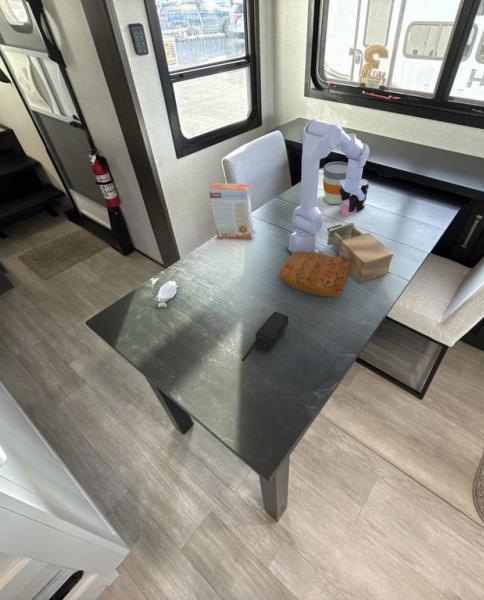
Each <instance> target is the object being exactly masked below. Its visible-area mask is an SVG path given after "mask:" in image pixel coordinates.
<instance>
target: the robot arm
mask: <svg viewBox="0 0 484 600" xmlns="http://www.w3.org/2000/svg"><path fill="white" fill-rule="evenodd" d="M337 145H339V149H340V151H341V152H343V153H344V154H345V157H346V158H348V162H347V163H348V166H347V173H346V180H340V181H339V185H340V186H342V189H339V192H340V195H341V199H342V201H344V200H347V199H349V212H354V210H355V208H356V206H357V205H358V203H359V202H360V201H361V200H364V197H365V195H364V194H363V192H362V191H361V189H360V188H361V186H360V182H361V179H362V176H363V171H364V166H366V162H367V159H368V158H369V155H370V147H369V146H368V144H366V143H363V142H362V140H361V139H360V138H357V134H356V133H348V134H347V133H346V132H345V131H344V130H343V126H340V125H339V124H337V123H335V124H333V123H331V122H325V121H321V120H319V119H316V118H311V119H309V120H308V122H307V123H306V125H305V126H304V128H303V130H302V146H301V147H302V148H301V149H302V154H301V177H300V178H301V179H300V181H301V183H300V205H298V206H297V207H295V209H294V210H293V215H292V220H291V222H292V226H293V227H295V228H294V230H295V231H294V232H293V233H290V235H289V243H288V245H289V246H288V250H289V252H290V253H291V255H292V254H293V253H295V252H313V253H320V251H319V250H318V249H317V248H316V246H317V245H316V244H317V235H318V234H319V233H320V232H321V230H322V229H323V224H324V222H323V218H322V215H323V214H322V212H321V211H320V209H319V207H318V206H317V205H318V204H317V203H318V193H319V192H318V191H319V178H320V177H319V176H320V175H319V174H320V161H321V159H325V158H327V157H328V156H329V154H331V152H332V151H333V150H334V149H335V148H336V147H337ZM351 194H353V196H351Z"/></svg>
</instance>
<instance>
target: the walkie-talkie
mask: <svg viewBox="0 0 484 600" xmlns="http://www.w3.org/2000/svg"><path fill="white" fill-rule="evenodd" d="M288 323H289V316H288V315H286V314H283V313H281V312H278V311H274V312H273V313H272V314H271V315H270V316H269V317H268V318H267V319H266V320H265V322H264V323H263V324H262V325H261V327H260V328H259V329H257V332H256V333H255V340H254V341H253V343H252V345H251V346H250V348H249V349H248V351H247V352H246V353H245V354H244V356H243V357H242V358H241V362H242V363H243V362H245V361H246V360H247V358H248V357H249V356H250V355H251V354H252V353H253V351H254V350H255V349H256V348H257V349H260V350H262V351H265V352H268V351H269V350H270V349H271V348H272V347H273V345H274V344H275V343H276V341H277V340H278V338H279V337H280V335H281V334H282V332H283V331H284V329H285V328H286V326H287V325H288Z"/></svg>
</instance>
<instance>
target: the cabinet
mask: <svg viewBox="0 0 484 600" xmlns="http://www.w3.org/2000/svg"><path fill="white" fill-rule="evenodd" d="M393 257H394V252H393V251H391V250H390V249H389V248H388V247H387V246H385V244H383V243H382V242H381V241H379V240H378V239H377V238H376V237H375V236H374V235H373V234H372V233H370V232H366V233H362V235H359V236H356V237H352V238H349V239H346V240H343V241H341V246H340V253H338V258H342V259H344V260H346V261H348V262H350V263H351V267H350V271H349V274H351V275H352V276H353V277H354V279H356V280H357V281H358V282H359V283H362V282H365V281H368V280H371V279H373V278H377V277H380V276H382V275H384V274H388V272H389V269H390V266H391V263H392V259H393Z"/></svg>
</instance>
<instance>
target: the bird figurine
mask: <svg viewBox="0 0 484 600" xmlns="http://www.w3.org/2000/svg"><path fill="white" fill-rule="evenodd" d="M179 287H180V285H177V282H176V281H174V280H168V281H166V282H165V283H164V284H163V285H161V286H160V288H159V290H158V292H157V295H156V297H155V301H156V302H159V303H158V304H157V307H158V308H162V307H165V308H168V305H167V303H166V302H168V301H169V300H171V299H173V298H174V297H175V295H176V294H177V290H178V288H179Z"/></svg>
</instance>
